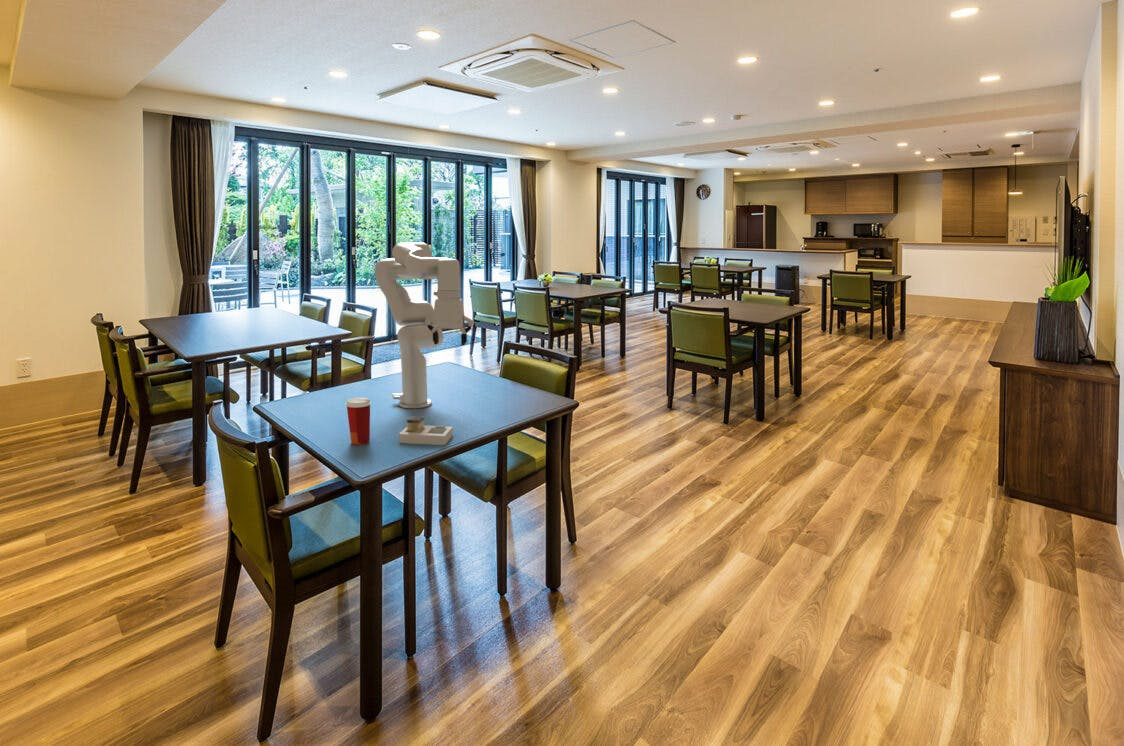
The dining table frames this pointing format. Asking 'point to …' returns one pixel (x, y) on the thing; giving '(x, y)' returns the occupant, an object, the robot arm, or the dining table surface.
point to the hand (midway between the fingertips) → (449, 344)
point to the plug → (415, 424)
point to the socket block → (427, 435)
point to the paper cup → (359, 420)
